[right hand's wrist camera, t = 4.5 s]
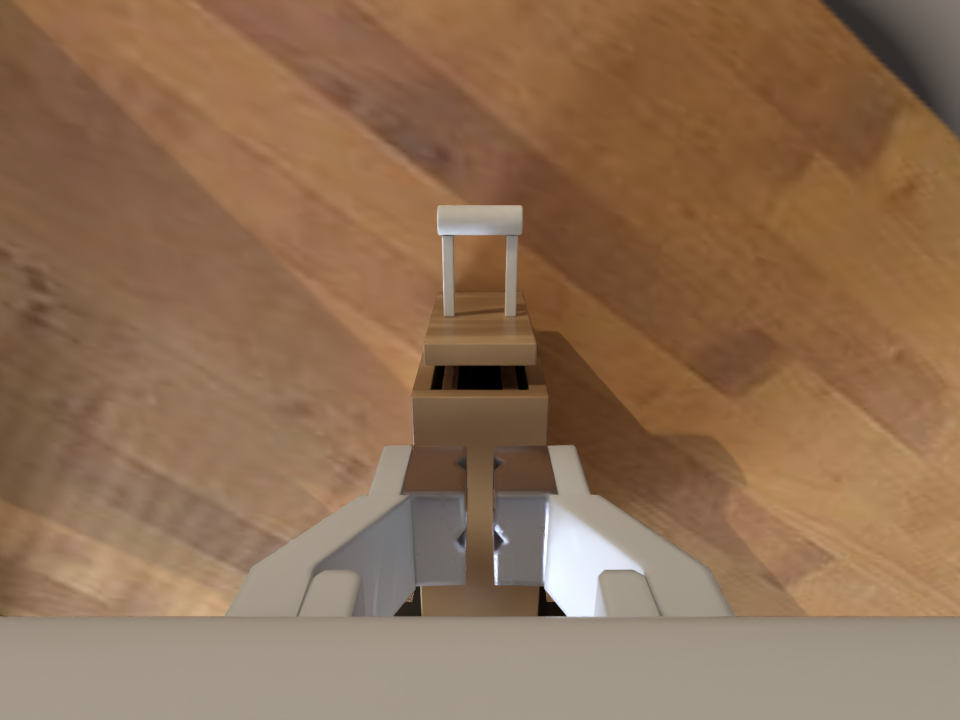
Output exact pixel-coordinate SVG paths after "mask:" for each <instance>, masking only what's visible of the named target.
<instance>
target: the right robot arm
mask: <svg viewBox="0 0 960 720" xmlns="http://www.w3.org/2000/svg"><path fill="white" fill-rule="evenodd" d="M492 468H493V488H492V528H493V561H494V583H495V585H513V586H544V589H545V590H546V591H547V593H548V594H549V595H550V596H551V597H552V599H553V600H554V601H555V602H556V603H557V605H558V606H559V607H560V608H561V609H562V611H563V612H564V613H565V614H566V615H567V616H394V614H395V613H396V612H397V611H398V610H399V609H400V607H401V606H402V605H403V604H404V603H405V601H406V600H407V599H408V598H409V597H410V595H411V594H412V593H413V592H414V591H415V589H416V586H446V585H465V584H466V560H467V523H468V488H467V446H426V445H414V446H412V445H387V446H385V447H384V448H383V451H382V454H381V457H380V460H379V464H378V467H377V470H376V473H375V476H374V479H373V482H372V486H371V489H370V492H369V495H360V496H358V497H357V498H355V499H354V500H352V501H351V502H349V503H348V504H346V505H345V506H343V507H342V508H340V509H339V510H337V511H336V512H334V513H333V514H331V515H330V516H328V517H327V518H325V519H324V520H322V521H321V522H319V523H318V524H316V525H315V526H313V527H311V528H310V529H308V530H307V531H305V532H304V533H302V534H301V535H299V536H298V537H296V538H295V539H293V540H292V541H290V542H289V543H287V544H286V545H284V546H283V547H281V548H280V549H278V550H277V551H275V552H274V553H272V554H271V555H269V556H268V557H266V558H265V559H263V560H262V561H260V562H259V563H257V564H256V565H254V566H253V567H251V569H250V571H249V573H248V575H247V576H246V578H245V580H244V582H243V584H242V586H241V587H240V589H239V591H238V593H237V595H236V597H235V598H234V600H233V602H232V604H231V606H230V608H229V609H228V611H227V613H226V615H225V616H0V720H960V617H955V616H735V615H734V613H733V611H732V610H731V608H730V606H729V604H728V602H727V600H726V598H725V596H724V595H723V593H722V591H721V589H720V587H719V585H718V583H717V582H716V580H715V578H714V576H713V574H712V572H711V570H710V569H709V568H708V567H707V566H705V565H704V564H702V563H701V562H699V561H698V560H696V559H695V558H693V557H692V556H690V555H689V554H687V553H686V552H684V551H683V550H681V549H680V548H678V547H677V546H675V545H674V544H672V543H671V542H669V541H668V540H666V539H665V538H663V537H662V536H660V535H659V534H657V533H656V532H654V531H653V530H651V529H650V528H648V527H647V526H645V525H644V524H642V523H641V522H639V521H638V520H636V519H635V518H633V517H632V516H630V515H629V514H627V513H626V512H624V511H623V510H621V509H620V508H618V507H617V506H615V505H614V504H612V503H611V502H609V501H608V500H606V499H605V498H603V497H602V496H600V495H591V492H590V489H589V486H588V483H587V480H586V477H585V474H584V470H583V467H582V464H581V461H580V458H579V455H578V452H577V449H576V447H575V446H574V445H552V446H547V445H543V446H502V447H493V466H492Z"/></svg>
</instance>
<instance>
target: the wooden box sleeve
mask: <svg viewBox="0 0 960 720" xmlns="http://www.w3.org/2000/svg"><path fill="white" fill-rule="evenodd" d="M444 371H445V366H425V365H424V353H423V354H422V357H421V361H420V365H419V368H418V372H417V376H416V379H415V383H414V387H413V392H412V395H411V413H412V433H413V446H414V445H426V446H467V488H468V523H467V560H466V584H465V585H446V586H420V593H421V613H422V616H538V606H539V587H540V586H513V585H495V583H494V561H493V528H492V488H493V468H492V466H493V447H502V446H543V445H547V432H548V413H549V395H548V392H547V387H546V383H545V380H544V376H543V372H542V369H541V365H540V361H539V358H538V354H536V365H535V366H515V371H516V377H517V384H518V390H442V384H443V378H444Z"/></svg>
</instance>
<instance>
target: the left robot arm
mask: <svg viewBox="0 0 960 720" xmlns="http://www.w3.org/2000/svg"><path fill="white" fill-rule="evenodd" d="M394 616H422V613H421V593H420V586H416V589H415V591H414V597H413V602H405V603H404V604H403V605H402V606H401V607H400V609H399V610H398V611H397V612H396V613H395V614H394ZM538 616H566V614H565V613H564V612H563V611H562V609H561V608H560V607H559V606H558V605H557V603H556V602H547V600H546V593H545V589H544V586H540V587H539V606H538Z"/></svg>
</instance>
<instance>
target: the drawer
mask: <svg viewBox="0 0 960 720" xmlns="http://www.w3.org/2000/svg"><path fill="white" fill-rule="evenodd" d="M437 229H438V234H439V235H443V236H442V256H443V292H438V293H437V297H436V301H435V304H434V308H433V311H432V315H431V318H430V322H429V325H428V329H427V333H426V336H425V340H424V343H423V353H424V365H425V366H445V371H444V378H443V384H442V390H518V384H517V377H516V371H515V366H535V365H536V354H537V343H536V340H535V336H534V333H533V329H532V326H531V322H530V319H529V315H528V312H527V308H526V304H525V301H524V297H523V294H522V292H517V258H518V236H517V235H521V234H522V230H523V208H522V206H521V205H439V206H438V208H437ZM454 235H506V278H505V292H455V278H454Z"/></svg>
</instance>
